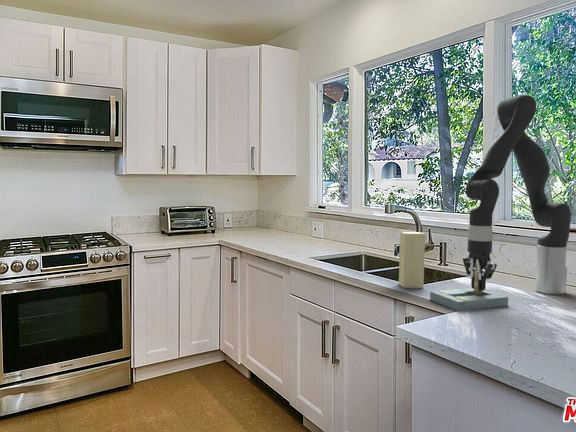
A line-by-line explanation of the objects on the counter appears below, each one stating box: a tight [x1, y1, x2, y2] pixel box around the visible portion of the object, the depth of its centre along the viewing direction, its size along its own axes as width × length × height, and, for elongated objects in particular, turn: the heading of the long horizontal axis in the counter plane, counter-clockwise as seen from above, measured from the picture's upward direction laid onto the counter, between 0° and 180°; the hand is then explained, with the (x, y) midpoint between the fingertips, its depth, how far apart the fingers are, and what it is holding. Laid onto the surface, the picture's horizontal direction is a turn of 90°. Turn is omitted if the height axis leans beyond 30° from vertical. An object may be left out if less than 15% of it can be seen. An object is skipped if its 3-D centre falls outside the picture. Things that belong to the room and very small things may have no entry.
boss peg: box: [474, 263, 484, 296], centre depth 148 cm, size 5×5×13 cm
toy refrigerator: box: [398, 231, 426, 289], centre depth 171 cm, size 8×7×21 cm
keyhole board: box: [429, 287, 509, 312], centre depth 147 cm, size 20×14×3 cm
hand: (478, 289), depth 148 cm, fingers closed on boss peg, 2 cm apart
